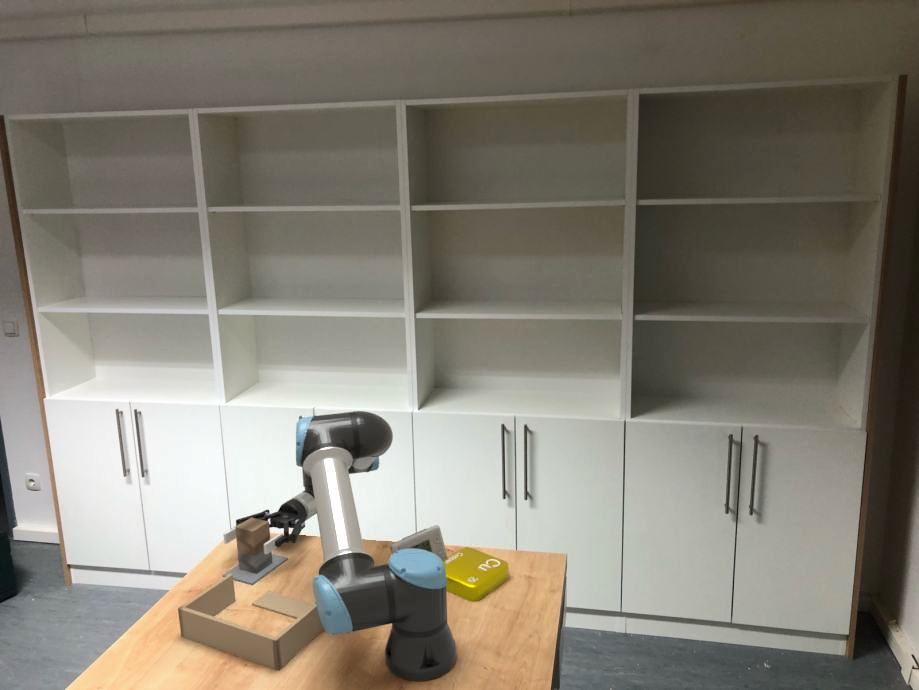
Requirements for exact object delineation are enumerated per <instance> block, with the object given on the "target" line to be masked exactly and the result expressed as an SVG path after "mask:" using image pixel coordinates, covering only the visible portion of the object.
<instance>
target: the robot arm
mask: <svg viewBox="0 0 919 690" xmlns="http://www.w3.org/2000/svg"><path fill="white" fill-rule="evenodd" d="M295 428H296V429H295V463H296V466H297V467H300V468H302V470H303V481H304V485H303V486H304V491H302V492H300V493H299V494H297V495H295V496H293V497H292V498H291V499H289V500H287V501H285V502H284V503H282V504H281V505H280V506H279V508H278V510H277V511H275V512H271V511H270V510H269V509H265V510H263V511H261V512H257V513H254V514H251V515H247V516H245V517H241V518H238V519H236V520H235V526H234V527H232V528H230V529H229V530H228V531H226V532H224V533H223V542H224V544H225V545H227V544H229V543H231V542H232V541H234V540H236V529H235V527H236V526H238V525H240V524H241V523H243V522H245V521H246V520H248V519H250V518H255V519H260V520H264V521H268V522H269V529H271V528H277V529H279V530H280V529H283V533H281V532H280V533H279V534H277V535H275V536H273V538H270V540H269V541H268V542H266V543H265V544H264V554H268V553H270V552H272V551H274V550H276V549H277V548H279V547H281V546H283V545H284V544H288V543H291V544H296V543H297V542H298V539H299V536H300V535H301V532H302V530H304V529H305V527H306V521H308V520H309V519H310V518H312V517H313V516H315V515H316V517H317V524H318V529H319V534H320V535H319V536H320V542H321V549H322V554H323V555H322V556H323V562H322V563H321V565H320V566H319V568H318V575H316V576H315V577H314V578H313V580H312V588H313V589H312V590H313V595H314V599H315V603H316V606H317V610H318V614H319V617H320V620H321V623H322V626H323V628H324V631H325V632H326V633H328V635H333V636H334V635H341V634H351V633H354V632H357V631H358V632H359V631H364V630H368V629H372V628H376V627H381V626H382V627H383V626H386V625H391V628H390V631H389V634H388V638H387V641H386V645H385V650H384V655H385V656H384V657H385V665H386V667H387V668H388V670H389V671H390V672H391V674H393V675H395V676H396V677H397V678H401V679H404V680H408V681H415V682H416V681H417V682H419V681H421V682H422V681H428V680H429V681H430V680H433V679H436V678H440V677H441V676H443V675H445V674H446V673H448V672H449V671H450V670H451V669H452V668H453V667H454V665H455V664H456V661H457V657H458V656H457V655H458V654H457V643H456V640H455V639H454V636H453V633H452V631H451V628H450V625H449V623H448V601H447V600H448V599H447V598H448V597H447V595H448V594H447V593H448V591H446V585H447V578H446V571H445V565H444V563H443V561H442V560H441V558H440V557H438V556H437V555H436V554H434V553H432V552H429V551H426V550H422V549H414V548H411V549H402V550H399V551H397V552H396V553H393V554H391V555H390V556H389V559H388V560H387V561H388V562H387V563H385V564H380V565H375V561H374V557H373V556H372V555H371V554H370V553H367V552H365V548H364V543H363V538H362V533H361V532H362V531H361V527H360V523H359V517H358V512H357V507H356V502H355V497H354V493H353V488H352V483H351V478H350V475H353V474H360V473H370V472H373V471H377V470H378V469H379V468H380V456H383V455H384V454H385V453H387V451H388V450H389V449H390V447H391V445H392V442H393V438H394V435H393V430H392V427H391V425H390V424H389V423H388V422H387V420H386V419H384V418H383V417H382V416H379V415H378V414H376V413H373V412H371V411H370V412H369V411H364V410H363V411H362V410H355V411H349V412H339V413H338V412H337V413H332V414H331V413H329V414H322V415H321V414H320V415H315V414H313V415H312V416H306V417H302V418H300V419H298V420H297V422H296V426H295ZM290 529H292V531H291V533H290Z"/></svg>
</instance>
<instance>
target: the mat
mask: <svg viewBox="0 0 919 690" xmlns="http://www.w3.org/2000/svg"><path fill="white" fill-rule="evenodd" d="M288 560H289V557H288V556H287V557H286V556H284V555H279V554H276V553H275V554H274V553H272V564H270V565H269V566H268V567H266V568H265V569H263V570H262V571H260V572H259V573H258V574H255V573H252V572H248V571H245V570H241V569H239V563H238V564H237V565H235V566H234V567H232V568H231V569H229V570H228V571H226V572H225V573H223V574H222V578H224V577H226V576H227V575H229V574H233V581H237V582H241V583H244V584H247V585H250V586H253V585H255V584H257V582H260V580H261V579H264V577H265V576H268V574H270V573H271V572H273V571H275V570H276V569H277V568H278V567H280V566H281V565H283V564H284V563H285V562H287V561H288Z"/></svg>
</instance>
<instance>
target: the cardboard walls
mask: <svg viewBox="0 0 919 690" xmlns="http://www.w3.org/2000/svg"><path fill="white" fill-rule="evenodd" d="M235 602H236V593H235V580H233V574H229V575H227V576H226V577H222V578H221V579H220V580H219V581H217V582H215V583H213V584H211V586H209V587H208V588H206V589H205V590H203V591H202V592H200V593H199V594H197V595H196V596H194V597H192V598H191V599H190V600H188V601H187V602H185V603H184V604H182V605H181V606H180V607H178V608H177V611H178V612H177V613H178V621H179V629H180V636H181V637H182V638H185V639H188V640H191V641H193V642H197V643H199V644H202V645H205V646H208V647H210V648H213V649H217V650H219V651H223V652H225V653H227V654H231V655H233V656H237V657H240V658H242V659H245V660H248V661H251V662H253V663H256V664H258V665H259V664H260V665H262V666H264V667H268V668H270V669H274V670H275V671H276V670H277V671H280V670H281V669H282V668H284V666H285V665H287V663H289V662H290V661H291V660H293V658H294V657H295V656H296V655H298V654H299V653H300V652H301V651H302V650H303V649H304V648H305V647H307V645H309V643H311V642H312V641H313V640H314V639H315V638H316V637H317V636H319V634H320V633H321V632H323V631H325V629H324V628H323V626H322V623H321V620H320V617H319V614H318V610H317V606H316V602H315V603H311V602H308V601H305V600H301V599H297V598H294V597H292V596H288V595H284V594H281V593H278V592H274V591H270V590H268V591H266V592H265V593H263V594H262V595H261V596H259V597H258V598H257V599H256V600H254V601H253V602H252V603H251V606H255V607H258V608H261V609H265V610H268V611H271V612H275V613H277V614H281V615H284V616H288V617H290V618H294V619H295V620H293V622H292V623H290V624H289V625H287V627H285V628H284V629H283V630H282V631H281V632H279V633H278V634H277V635H276V636H275V635H271V634H268V633H266V632H262V631H259V630H256V629H253V628H250V627H246V626H243V625H241V624H237V623H235V622H231V621H228V620H226V619H225V620H224V619H222V618H219V617H216V615H217V614H219V613H220V612H221V611H223V610H224V609H226V608H227V607H228V606H230V605H231V604H233V603H235Z"/></svg>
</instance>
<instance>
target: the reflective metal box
mask: <svg viewBox="0 0 919 690" xmlns="http://www.w3.org/2000/svg"><path fill="white" fill-rule="evenodd" d="M269 524H270V521H269V520H268V521H264V520H260V519H255V518H250V519H248V520H246V521H245V522H243V523H241V524H240V525H238V526H236V525H235V526H236V527H235V526H234V527H235V529H236V538H235V540H236V549H237V558H238V564H239V569H241V570H245V571H248V572H252V573H255V574H258V573H259V572H260V571H262V570H263V569H265V568H266V567H268V566H269V565H270V564H272V554H273V552H272V551H271V552H270V553H268V554H264V544H265V543H266V542H268V541H269V540H271V532H270V531H271V530H270V529H271V528H269Z"/></svg>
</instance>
